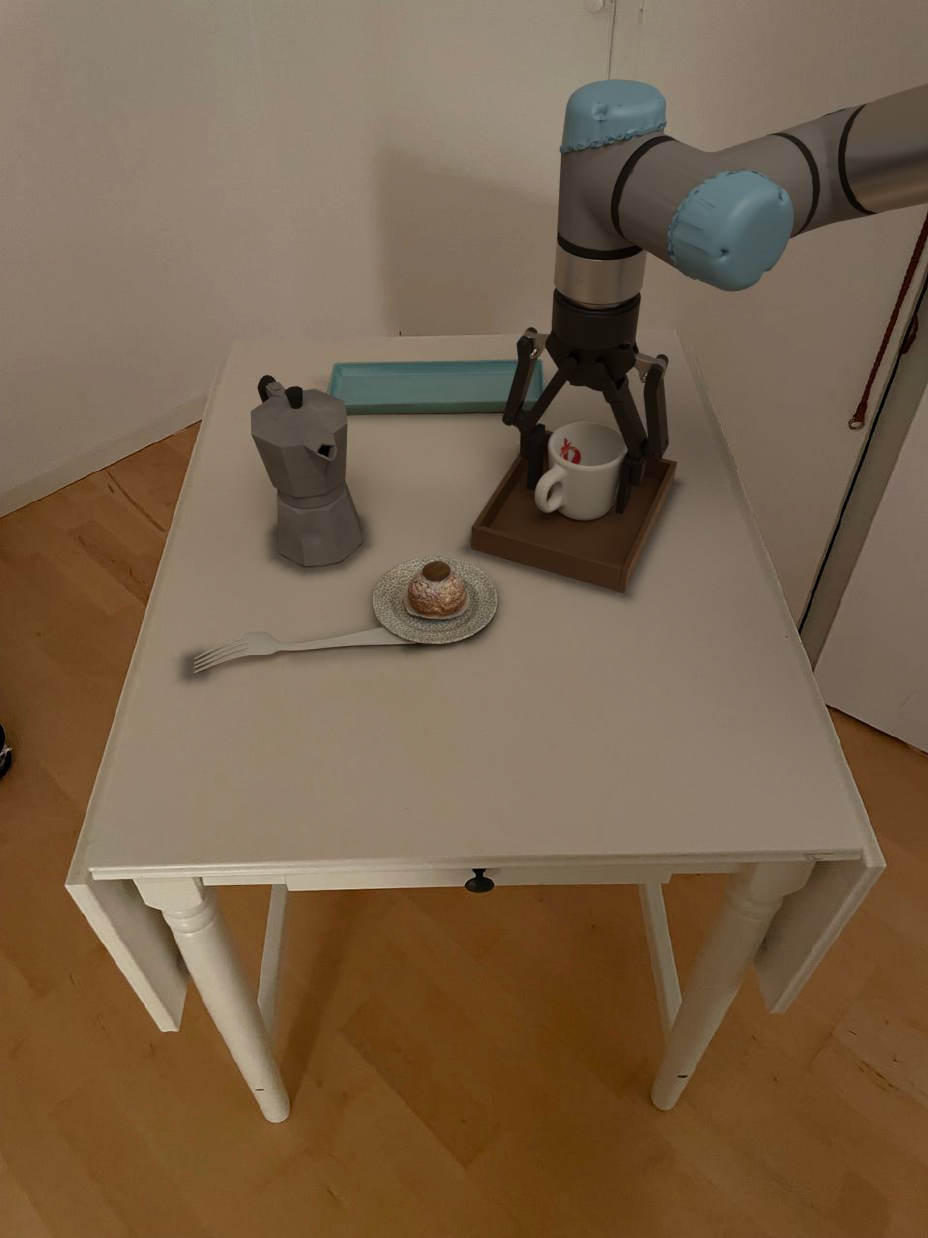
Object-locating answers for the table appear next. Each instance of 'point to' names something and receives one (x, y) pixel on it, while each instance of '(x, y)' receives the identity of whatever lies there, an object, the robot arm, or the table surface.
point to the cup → (582, 470)
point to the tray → (572, 527)
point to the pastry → (434, 600)
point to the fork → (293, 644)
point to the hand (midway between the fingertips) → (578, 493)
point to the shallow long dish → (430, 386)
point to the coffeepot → (307, 472)
